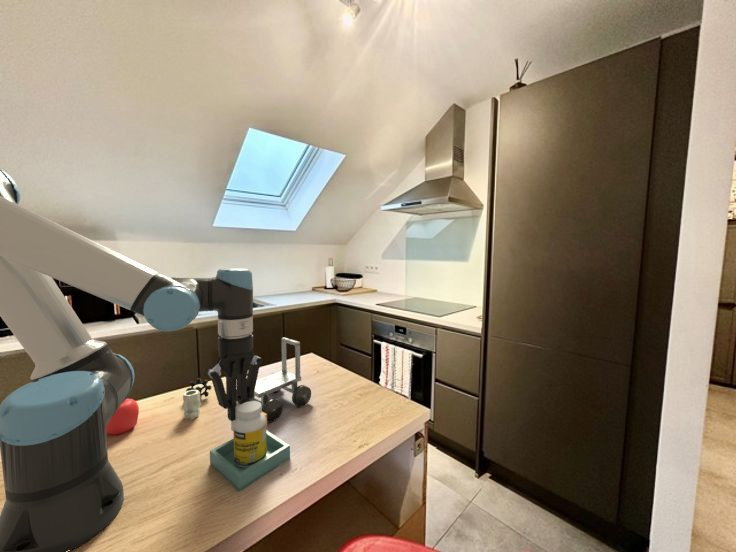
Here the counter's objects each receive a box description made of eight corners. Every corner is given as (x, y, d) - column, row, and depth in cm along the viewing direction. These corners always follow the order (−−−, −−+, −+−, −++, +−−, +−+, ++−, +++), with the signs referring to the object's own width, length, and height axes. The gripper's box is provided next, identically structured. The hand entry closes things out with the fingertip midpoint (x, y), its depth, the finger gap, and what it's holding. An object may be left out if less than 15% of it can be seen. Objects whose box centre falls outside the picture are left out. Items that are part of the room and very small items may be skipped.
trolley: (264, 426, 77) (263, 358, 76) (234, 406, 87) (232, 346, 85) (311, 402, 90) (310, 343, 88) (280, 387, 99) (279, 334, 97)
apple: (132, 417, 81) (130, 388, 80) (147, 426, 77) (145, 396, 76) (94, 432, 74) (91, 401, 73) (108, 443, 70) (105, 410, 69)
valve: (204, 418, 81) (211, 397, 92) (203, 394, 80) (211, 376, 92) (175, 422, 79) (187, 400, 90) (174, 398, 78) (186, 379, 90)
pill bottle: (227, 465, 62) (225, 411, 61) (248, 446, 69) (246, 396, 68) (254, 472, 61) (252, 417, 60) (273, 451, 67) (272, 401, 66)
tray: (239, 491, 57) (238, 476, 56) (210, 464, 64) (209, 450, 63) (290, 458, 66) (289, 445, 65) (259, 437, 73) (259, 425, 73)
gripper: (215, 344, 63) (217, 451, 65) (269, 331, 74) (269, 424, 76) (199, 337, 68) (201, 437, 70) (252, 326, 78) (252, 414, 80)
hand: (237, 430), depth 73 cm, fingers closed
